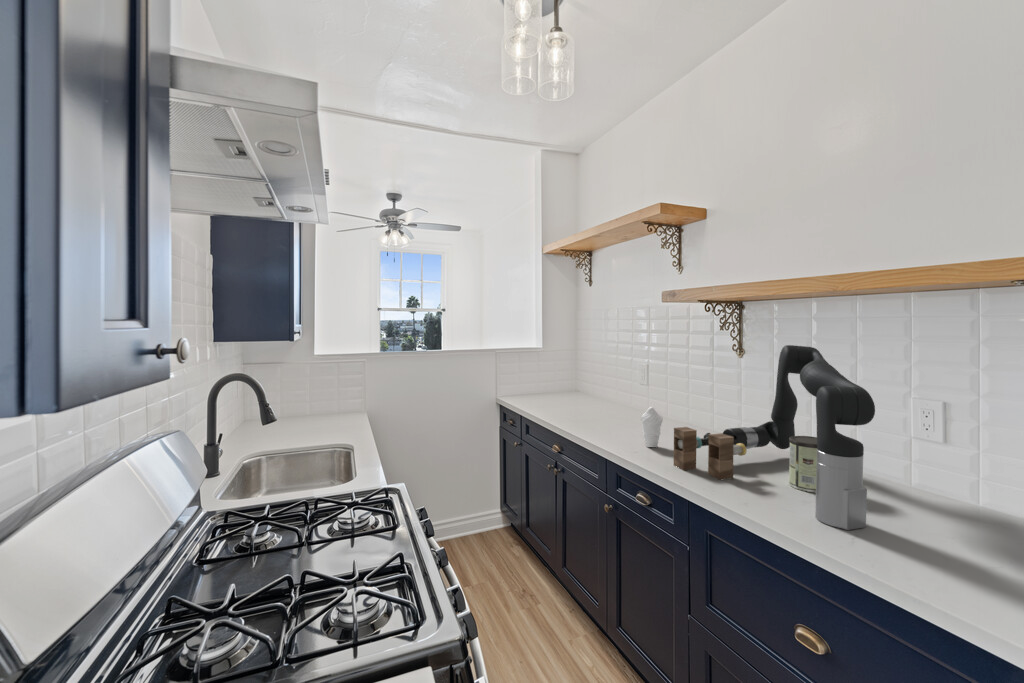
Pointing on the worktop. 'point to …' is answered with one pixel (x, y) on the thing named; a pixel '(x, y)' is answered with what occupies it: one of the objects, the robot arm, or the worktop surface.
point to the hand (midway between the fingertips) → (698, 442)
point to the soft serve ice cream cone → (651, 427)
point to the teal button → (698, 443)
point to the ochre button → (739, 449)
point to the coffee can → (803, 463)
